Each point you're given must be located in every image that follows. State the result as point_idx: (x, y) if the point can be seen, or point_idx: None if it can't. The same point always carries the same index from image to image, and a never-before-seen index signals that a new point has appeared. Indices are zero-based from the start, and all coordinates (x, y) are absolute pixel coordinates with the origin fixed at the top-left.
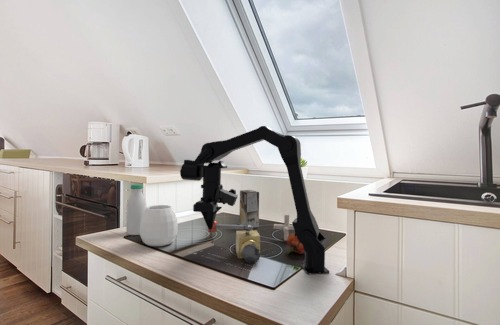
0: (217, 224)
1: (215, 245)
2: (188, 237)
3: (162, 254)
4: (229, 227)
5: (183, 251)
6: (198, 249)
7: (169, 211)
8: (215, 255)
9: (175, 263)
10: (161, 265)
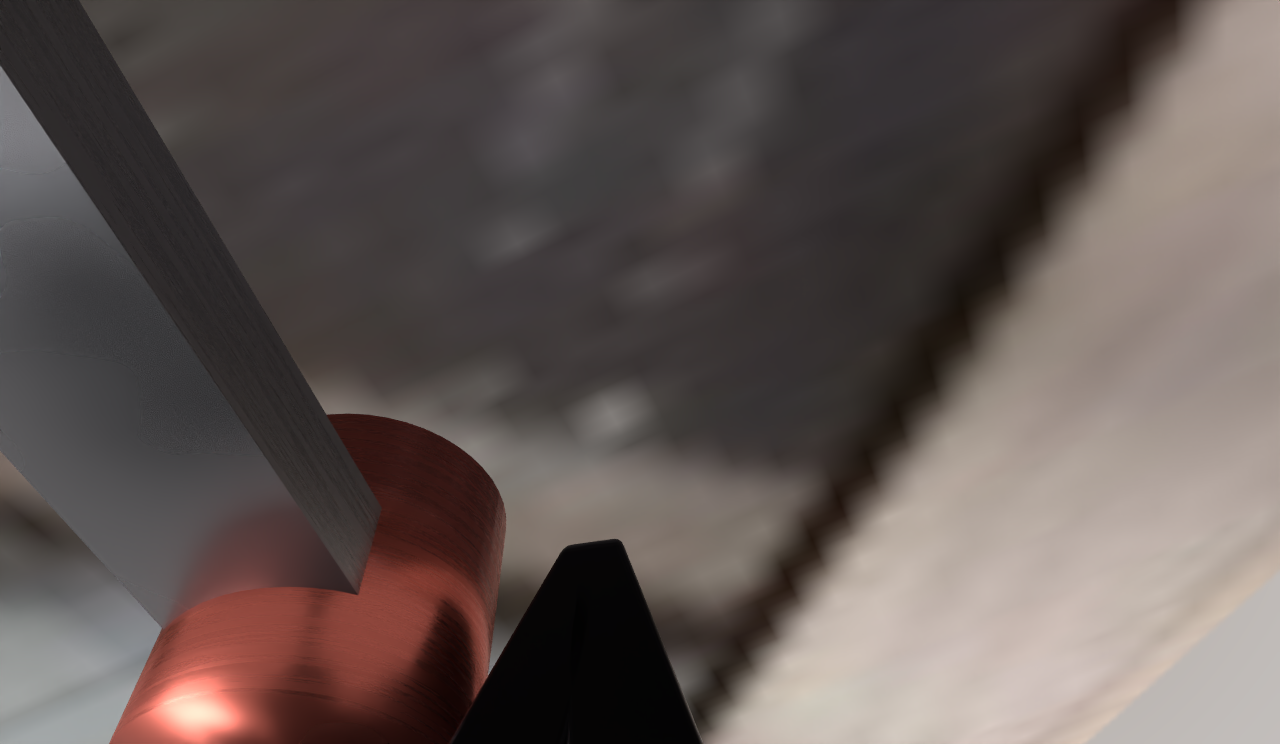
0: (199, 583)
1: None
2: (87, 733)
3: (805, 676)
4: (38, 7)
5: None
6: None
7: None
8: (571, 73)
9: (1085, 446)
10: (1168, 537)
